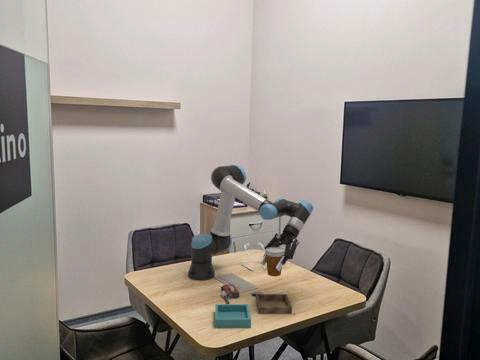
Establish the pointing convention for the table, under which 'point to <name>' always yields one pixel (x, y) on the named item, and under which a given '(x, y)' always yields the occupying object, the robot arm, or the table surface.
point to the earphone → (252, 259)
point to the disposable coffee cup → (273, 260)
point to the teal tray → (232, 316)
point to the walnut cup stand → (273, 309)
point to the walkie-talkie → (229, 292)
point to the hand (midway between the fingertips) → (269, 266)
